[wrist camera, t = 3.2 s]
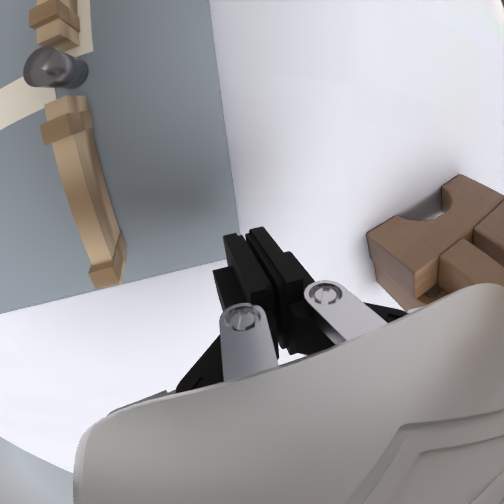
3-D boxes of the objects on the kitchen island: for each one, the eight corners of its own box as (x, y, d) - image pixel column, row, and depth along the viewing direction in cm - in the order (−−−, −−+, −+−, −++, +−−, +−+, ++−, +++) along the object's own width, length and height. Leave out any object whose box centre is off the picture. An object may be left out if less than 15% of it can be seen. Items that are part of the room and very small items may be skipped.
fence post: (62, 67, 11) (21, 57, 6) (89, 56, 11) (57, 39, 7) (65, 93, 12) (25, 93, 7) (93, 83, 12) (61, 77, 8)
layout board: (-69, 11, 2) (-74, 10, 1) (195, -106, 6) (196, -111, 5) (-5, 311, 17) (-8, 316, 16) (240, 250, 20) (243, 255, 20)
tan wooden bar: (65, 103, 12) (36, 106, 8) (87, 95, 12) (63, 94, 8) (109, 257, 17) (99, 296, 14) (128, 252, 17) (122, 290, 14)
